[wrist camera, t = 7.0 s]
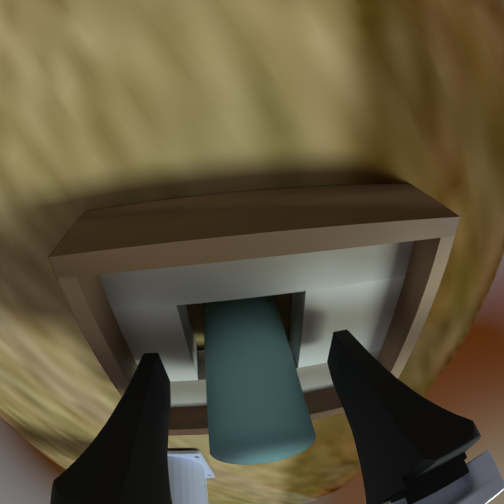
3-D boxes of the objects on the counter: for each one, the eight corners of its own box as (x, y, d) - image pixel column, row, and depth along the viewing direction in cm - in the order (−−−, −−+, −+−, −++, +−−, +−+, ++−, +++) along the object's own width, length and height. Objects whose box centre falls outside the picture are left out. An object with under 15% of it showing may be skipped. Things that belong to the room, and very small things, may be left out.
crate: (366, 359, 18) (385, 400, 15) (153, 387, 17) (150, 435, 14) (410, 183, 12) (459, 216, 9) (84, 211, 11) (47, 257, 8)
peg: (282, 284, 14) (327, 419, 8) (273, 337, 16) (304, 457, 10) (202, 285, 13) (207, 431, 7) (205, 340, 15) (212, 467, 9)
